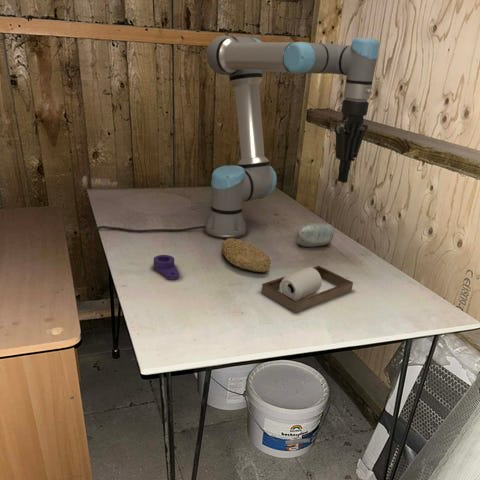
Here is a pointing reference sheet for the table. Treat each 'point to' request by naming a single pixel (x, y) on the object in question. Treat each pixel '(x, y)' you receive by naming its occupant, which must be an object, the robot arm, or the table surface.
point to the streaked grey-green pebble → (314, 234)
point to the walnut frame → (296, 306)
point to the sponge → (245, 255)
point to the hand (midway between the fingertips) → (342, 181)
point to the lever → (166, 267)
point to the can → (301, 283)
